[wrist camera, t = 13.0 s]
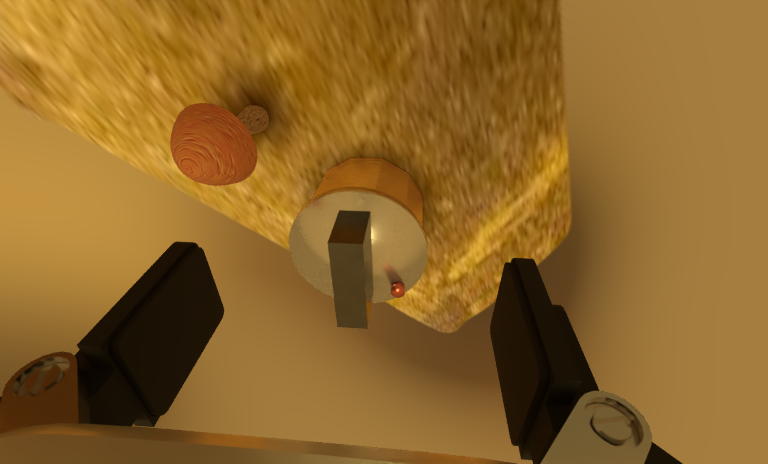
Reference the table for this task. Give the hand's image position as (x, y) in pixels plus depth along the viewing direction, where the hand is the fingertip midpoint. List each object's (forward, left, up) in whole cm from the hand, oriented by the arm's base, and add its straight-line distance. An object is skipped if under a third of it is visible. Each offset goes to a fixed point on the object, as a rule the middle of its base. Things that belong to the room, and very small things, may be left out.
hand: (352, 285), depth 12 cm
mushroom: (+5, -17, -34) cm, 38 cm away
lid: (+17, -4, -26) cm, 31 cm away
